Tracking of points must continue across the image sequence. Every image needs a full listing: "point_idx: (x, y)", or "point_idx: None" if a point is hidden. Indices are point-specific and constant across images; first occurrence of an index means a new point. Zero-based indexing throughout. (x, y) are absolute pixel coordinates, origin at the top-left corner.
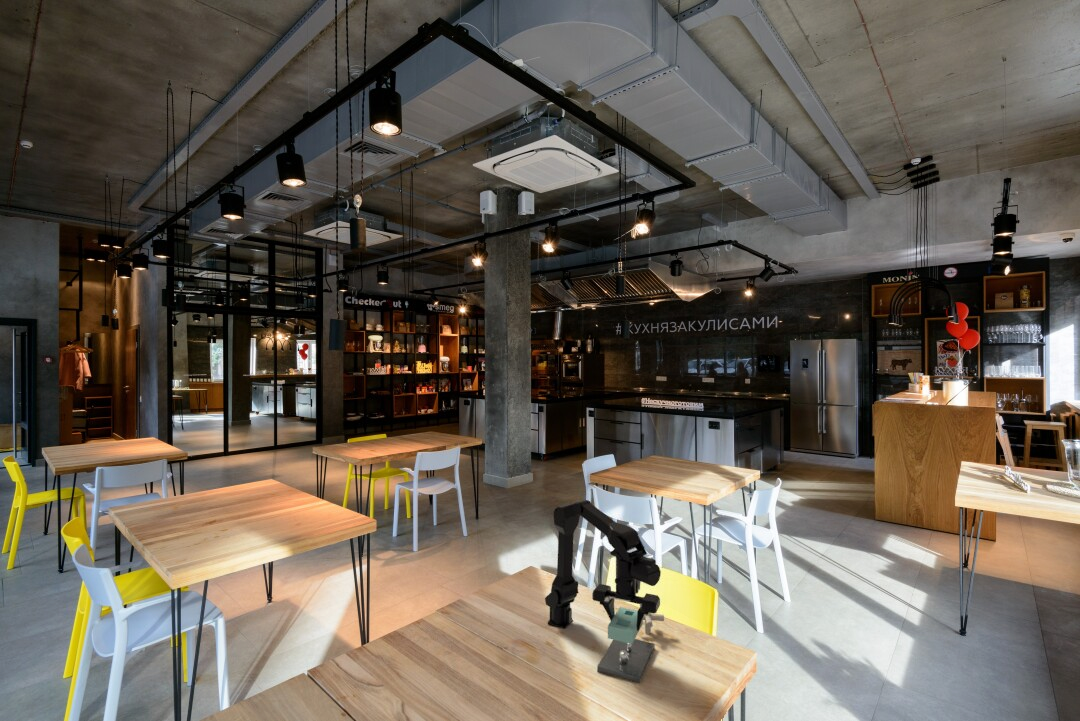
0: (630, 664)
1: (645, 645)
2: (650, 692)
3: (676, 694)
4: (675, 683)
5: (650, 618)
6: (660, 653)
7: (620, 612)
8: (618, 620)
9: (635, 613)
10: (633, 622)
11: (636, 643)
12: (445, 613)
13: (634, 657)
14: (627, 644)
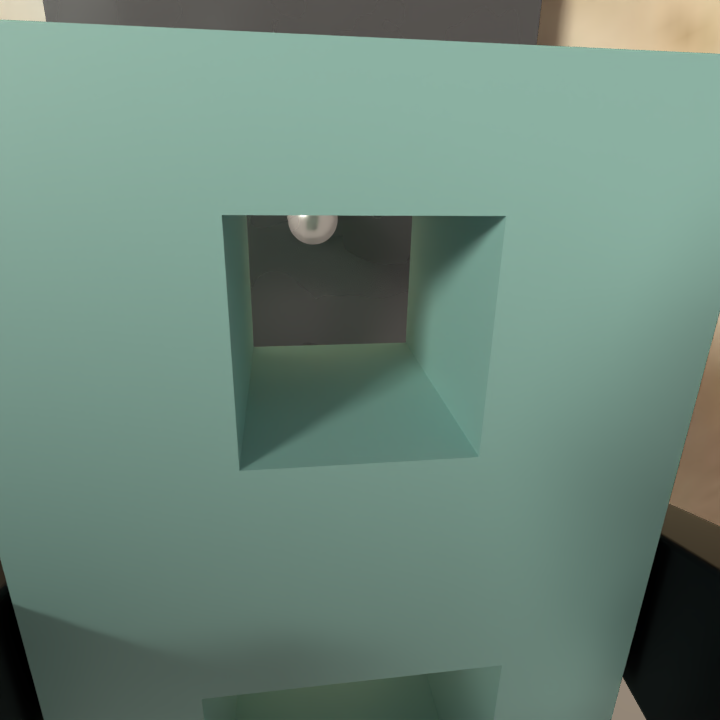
0: None
1: (453, 34)
2: None
3: (693, 498)
4: (695, 403)
5: None
6: (586, 32)
7: (98, 430)
8: (210, 712)
9: (555, 279)
10: (555, 683)
11: (347, 33)
12: None
13: (388, 312)
14: (294, 235)
